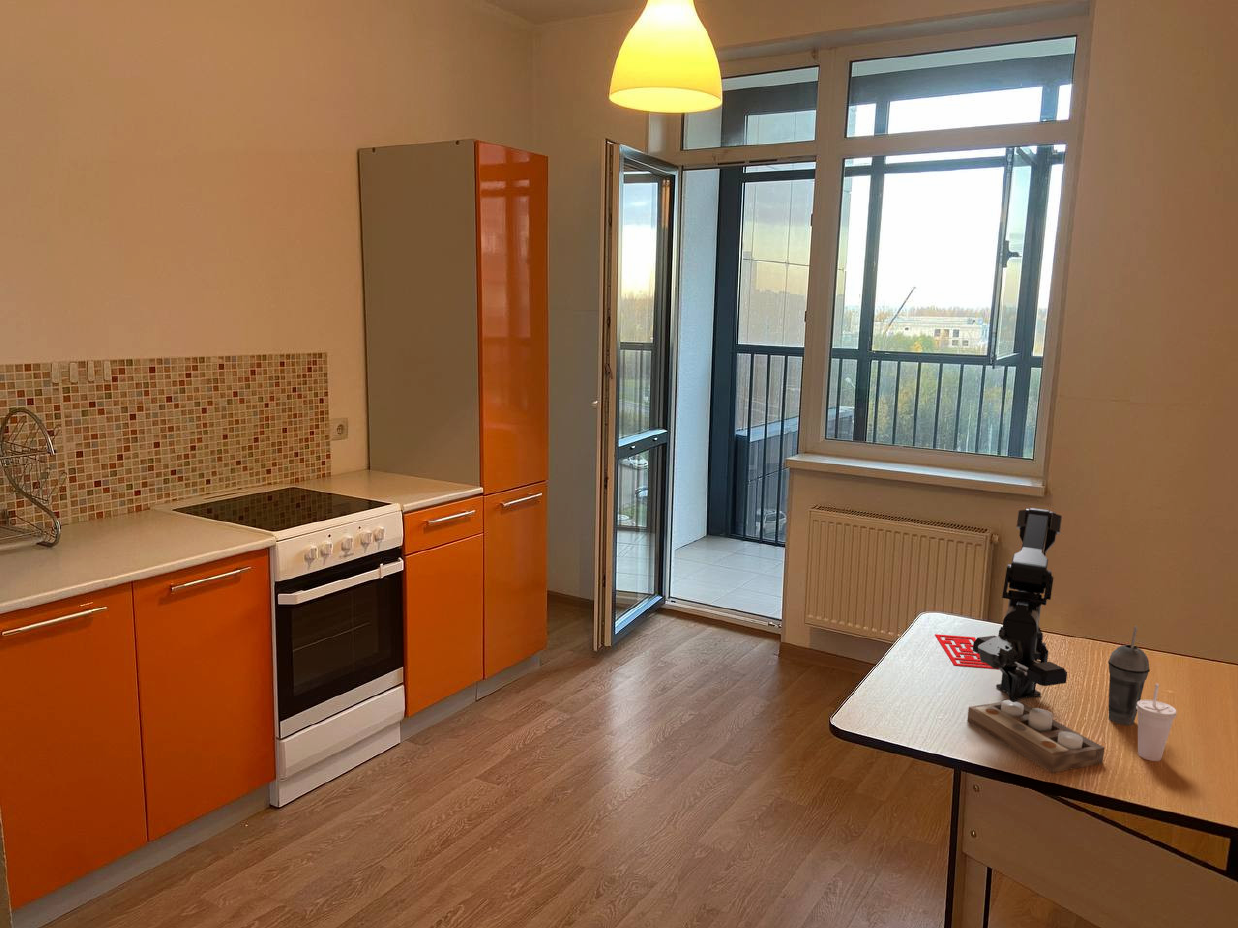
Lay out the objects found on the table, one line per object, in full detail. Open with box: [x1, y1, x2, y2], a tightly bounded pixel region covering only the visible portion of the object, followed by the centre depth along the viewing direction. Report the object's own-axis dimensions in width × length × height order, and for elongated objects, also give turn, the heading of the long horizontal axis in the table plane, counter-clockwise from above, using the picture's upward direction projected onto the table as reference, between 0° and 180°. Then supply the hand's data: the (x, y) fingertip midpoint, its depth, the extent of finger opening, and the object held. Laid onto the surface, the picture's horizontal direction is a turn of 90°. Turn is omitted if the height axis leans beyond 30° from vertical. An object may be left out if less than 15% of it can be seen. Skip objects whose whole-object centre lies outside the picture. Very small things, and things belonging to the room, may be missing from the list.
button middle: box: [1028, 707, 1054, 732], centre depth 172 cm, size 4×4×3 cm
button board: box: [966, 700, 1105, 774], centre depth 171 cm, size 12×21×3 cm, turn 21°
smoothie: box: [1136, 683, 1178, 762], centre depth 166 cm, size 6×6×14 cm
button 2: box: [1057, 731, 1083, 750], centre depth 165 cm, size 4×4×3 cm
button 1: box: [1001, 699, 1024, 717], centre depth 178 cm, size 4×4×3 cm
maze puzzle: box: [934, 633, 999, 670], centre depth 216 cm, size 20×20×1 cm
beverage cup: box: [1107, 625, 1151, 726], centre depth 181 cm, size 7×7×20 cm
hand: (1013, 701), depth 178 cm, fingers closed
